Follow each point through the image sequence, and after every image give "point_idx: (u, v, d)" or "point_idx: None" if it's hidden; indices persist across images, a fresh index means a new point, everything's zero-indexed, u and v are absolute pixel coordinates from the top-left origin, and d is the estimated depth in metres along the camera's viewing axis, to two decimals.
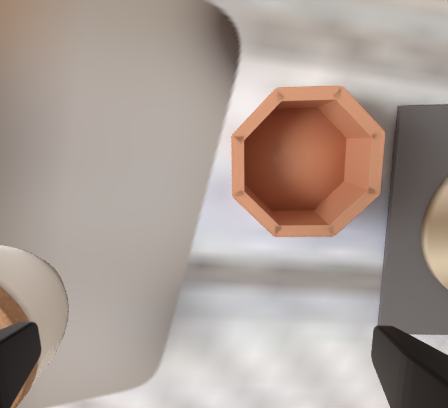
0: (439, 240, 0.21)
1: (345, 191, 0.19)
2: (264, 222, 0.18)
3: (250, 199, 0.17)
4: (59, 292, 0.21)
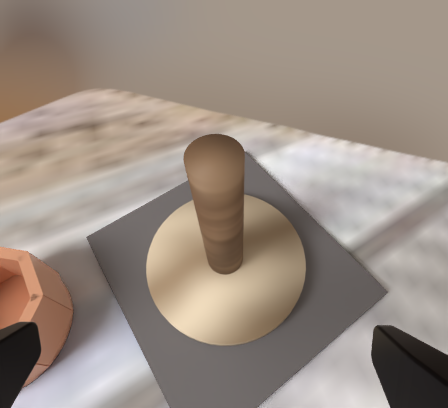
0: (168, 304, 0.20)
1: None
2: None
3: None
4: None
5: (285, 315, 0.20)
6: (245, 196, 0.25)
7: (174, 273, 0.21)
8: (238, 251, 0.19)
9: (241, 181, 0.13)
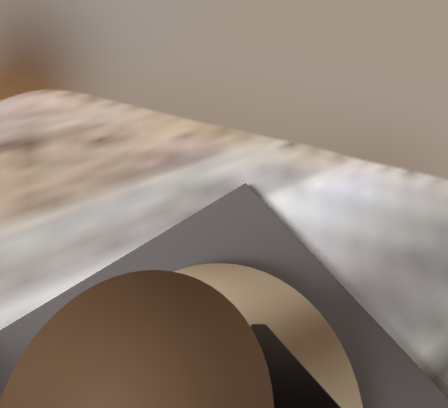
0: None
1: None
2: None
3: None
4: None
5: None
6: (250, 270, 0.15)
7: None
8: None
9: None
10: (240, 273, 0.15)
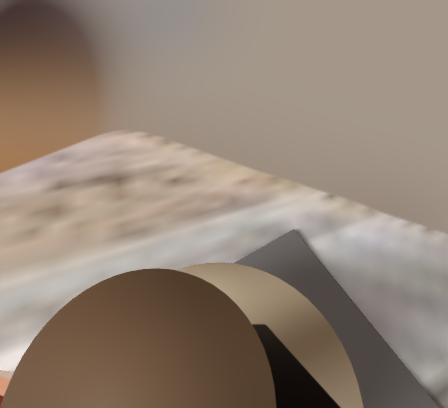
0: None
1: None
2: None
3: None
4: None
5: None
6: (250, 270, 0.15)
7: None
8: None
9: None
10: (240, 273, 0.15)
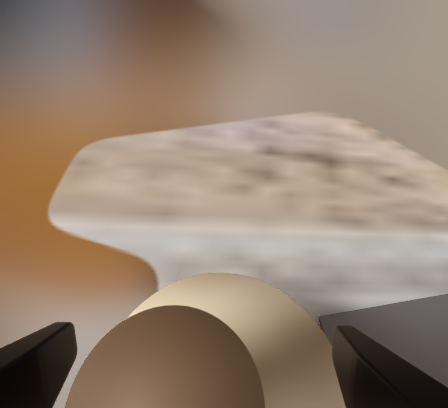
0: None
1: None
2: None
3: None
4: None
5: None
6: (249, 280, 0.16)
7: None
8: None
9: None
10: (240, 283, 0.16)
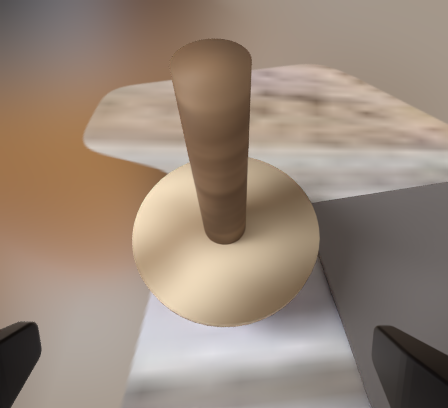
0: (158, 278, 0.17)
1: None
2: None
3: None
4: None
5: (296, 290, 0.16)
6: (248, 159, 0.22)
7: (164, 243, 0.18)
8: (240, 213, 0.16)
9: (246, 100, 0.10)
10: None
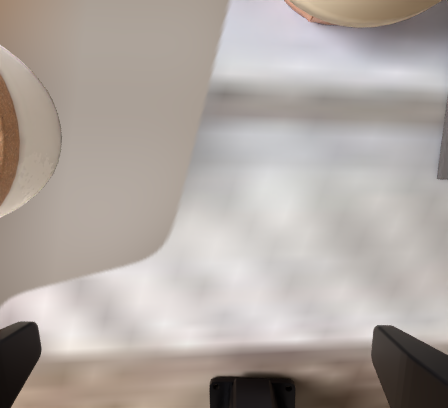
0: None
1: None
2: None
3: None
4: (49, 101, 0.17)
5: None
6: None
7: None
8: None
9: None
10: None
